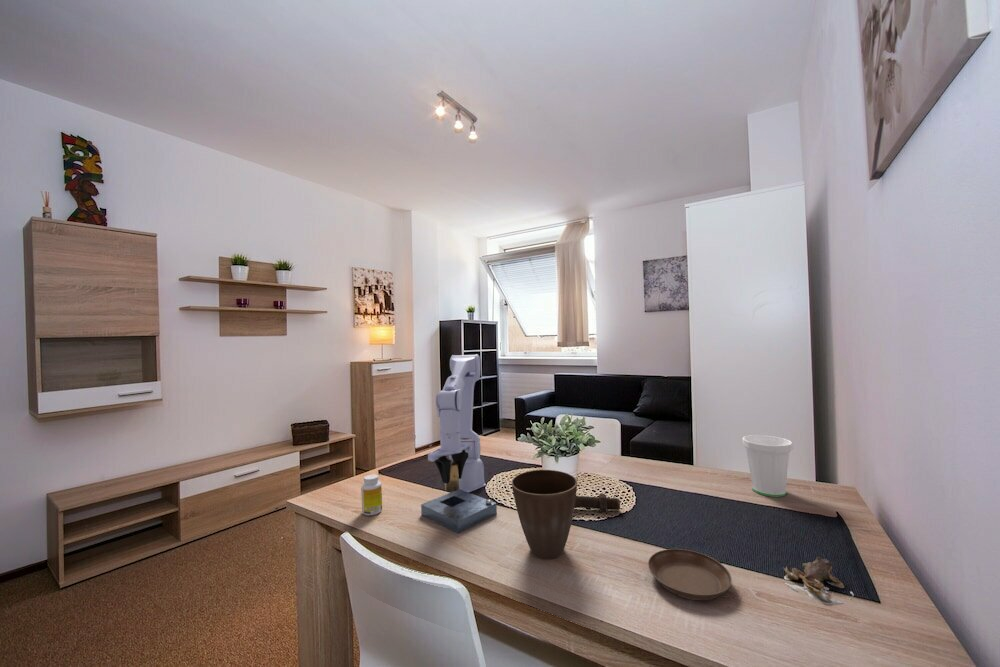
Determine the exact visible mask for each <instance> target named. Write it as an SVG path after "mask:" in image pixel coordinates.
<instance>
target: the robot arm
mask: <svg viewBox="0 0 1000 667" xmlns="http://www.w3.org/2000/svg"><path fill="white" fill-rule="evenodd" d="M449 358H450V359H449V370H450V371H451V375H450V376H448V377H447V378H446V381H445V383H444V386H443V388H442V390H440V391H439V392H436V396H435V397H436V398H435V407H436V410H437V417H438V418H439V419H438V420H439V440H440V442H439V443H440V447H439V448H437V449H435V450H433V451H432V452H429V453H427V461H428V462H433V463H434V464H435V466H436V467H437V469H438V471H439V474H440V477H441V481H442V483H444V484H445V483H446V484H448V483H449V469H450V463H451V462H457V463H458V467H459V489H460V490H463V491H466V492H468V493H471V492H473V491H476V490H479V489H481V488H483V487H485V486H487V484H486V483H485V472H484V471H485V468H484V462H483V461H482V459H481V458H480V457H481V449H482V448H481V438H480V436H479V434H478V433H476V432H475V431H474V430H473V414H474V412H473V411H474V394H475V393H474V390H475V386H476V382H477V381H479V380H480V377H481V365H482V364H481V358H480V355H479V354H477V353H476V354H463V355H461V354H460V355H459V354H458V355H457V354H452V355H451V357H449ZM448 458H449V459H448Z"/></svg>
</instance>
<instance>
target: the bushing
mask: <svg viewBox="0 0 1000 667" xmlns="http://www.w3.org/2000/svg"><path fill="white" fill-rule="evenodd" d="M444 488H445V489H444V490H445V491H446V492H449V493H451V492H453V491H457V490H459V467H458V463H457V462H453V461H451V463H450V469H449V483H448V484H446V483H444Z"/></svg>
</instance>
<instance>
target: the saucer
mask: <svg viewBox="0 0 1000 667" xmlns="http://www.w3.org/2000/svg"><path fill="white" fill-rule="evenodd" d="M647 565H648V566H647V567H648V569H649V571H650V573H651V574H652V576H653V577H654V579H655V580H656V581H657V582H658V583H659V584H660V586H662V587H664V589H666V590H667V591H668V592H670V593H672V594H674V595H676V596H678V597H680V598H684V599H687V600H692V601H709V600H713V599H715V598H717V597H720V596H721V595H723V594H725V592H727V591H728V590H729V588H730V587H731V585H732V582H733V581H732V578H733V577H732V576H731V573H730V572H729V570H728V569H727V567H726V566H725V565H723V564H722V563H721V562H720V561H718V560H716V559H715V558H713V557H711V556H708V555H707V554H705V553H701V552H697V551H694V550H689V549H684V548H668V549H667V548H666V549H662V550H659V551H656V552H655V553H653V554H652V555H651V556H650V557H649V559H648V560H647Z"/></svg>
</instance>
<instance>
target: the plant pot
mask: <svg viewBox="0 0 1000 667" xmlns="http://www.w3.org/2000/svg"><path fill="white" fill-rule="evenodd" d="M511 487H512V493H513V499H514V503H515V507H516V511H517V515H518V519H519V522H520V526H521V528H522V531H523V535H524V536H525V539H526V542H527V545H528V547H529V549H530V551H531V553H532V554H533V556H535V557H537V558H540V559H543V560H551V559H555V558H559V557H560V556H561V555H562V554H563V553H564V550H565V547H566V546H567V541H568V538H569V534H570V530H571V527H572V523H573V518H574V512H575V508H574V507H575V500H576V496H577V490H578V488H577V487H578V480H577V478H576V477H575V476H573V475H572V474H570V473H568V472H564V471H560V470H554V469H553V470H552V469H535V470H529V471H525V472H522V473H519V474H517V475H516V476H514V477H513V478H512V480H511Z"/></svg>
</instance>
